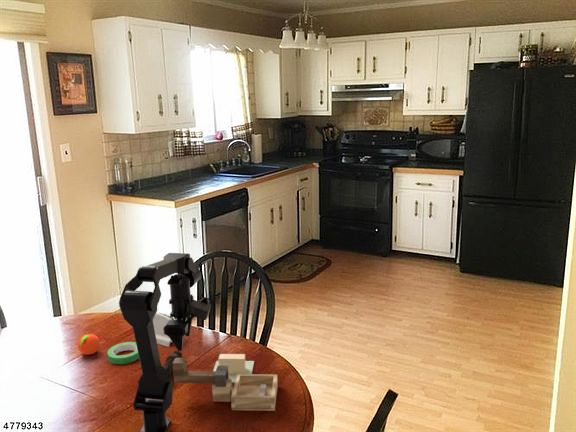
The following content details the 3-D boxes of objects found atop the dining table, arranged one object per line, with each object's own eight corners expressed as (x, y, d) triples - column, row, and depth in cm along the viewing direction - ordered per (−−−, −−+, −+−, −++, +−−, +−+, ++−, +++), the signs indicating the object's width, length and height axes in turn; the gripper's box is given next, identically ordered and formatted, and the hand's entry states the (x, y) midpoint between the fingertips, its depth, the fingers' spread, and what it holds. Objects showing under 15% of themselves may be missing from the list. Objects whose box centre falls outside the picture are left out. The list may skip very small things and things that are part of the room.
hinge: (134, 337, 184) (139, 309, 185) (143, 336, 189) (148, 309, 189) (169, 347, 176) (173, 318, 177) (178, 345, 181) (182, 317, 181)
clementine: (90, 361, 168) (88, 341, 166) (72, 358, 170) (70, 339, 168) (104, 349, 175) (102, 330, 174) (87, 347, 177) (85, 329, 176)
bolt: (181, 365, 168) (163, 388, 154) (168, 357, 168) (149, 380, 154) (188, 351, 167) (171, 374, 152) (175, 343, 167) (157, 365, 152)
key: (215, 383, 143) (214, 363, 142) (174, 383, 144) (172, 363, 142) (217, 378, 146) (216, 358, 145) (176, 377, 147) (175, 357, 145)
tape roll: (122, 368, 164) (121, 360, 163) (101, 359, 170) (100, 351, 169) (149, 354, 172) (148, 347, 172) (128, 345, 179) (127, 338, 178)
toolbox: (274, 410, 139) (273, 381, 137) (210, 409, 140) (208, 381, 138) (277, 386, 151) (276, 359, 149) (218, 385, 152) (216, 359, 150)
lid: (249, 384, 153) (249, 366, 152) (209, 384, 154) (208, 366, 152) (254, 363, 165) (253, 346, 164) (216, 363, 166) (215, 346, 165)
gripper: (201, 307, 138) (204, 358, 142) (213, 282, 157) (216, 329, 160) (161, 307, 139) (165, 358, 142) (178, 283, 157) (181, 329, 161)
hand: (184, 343), depth 151 cm, fingers open, 9 cm apart
